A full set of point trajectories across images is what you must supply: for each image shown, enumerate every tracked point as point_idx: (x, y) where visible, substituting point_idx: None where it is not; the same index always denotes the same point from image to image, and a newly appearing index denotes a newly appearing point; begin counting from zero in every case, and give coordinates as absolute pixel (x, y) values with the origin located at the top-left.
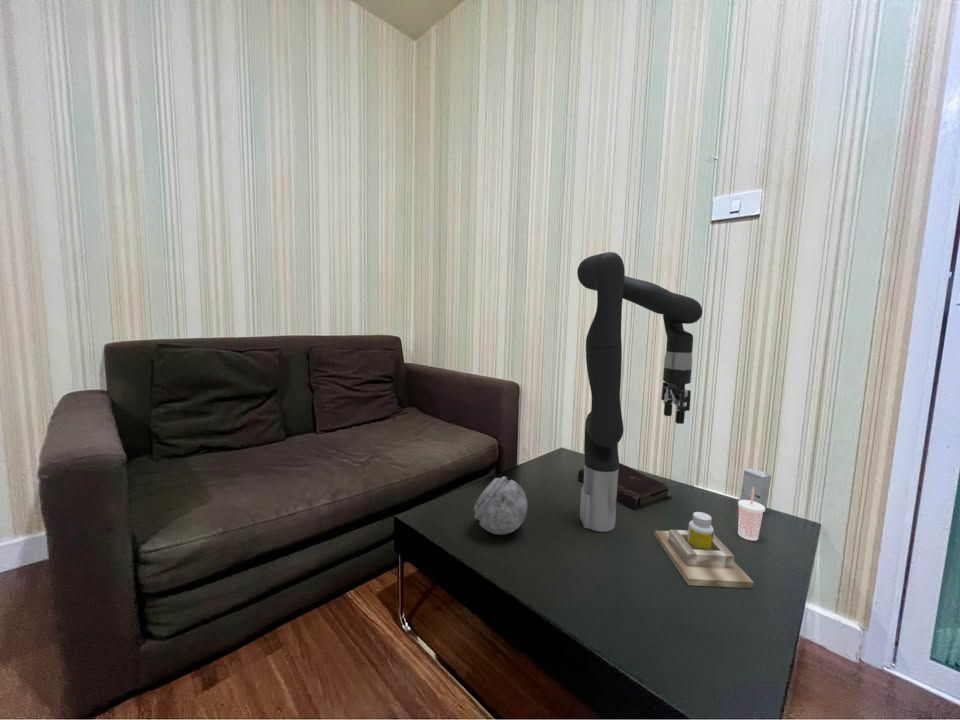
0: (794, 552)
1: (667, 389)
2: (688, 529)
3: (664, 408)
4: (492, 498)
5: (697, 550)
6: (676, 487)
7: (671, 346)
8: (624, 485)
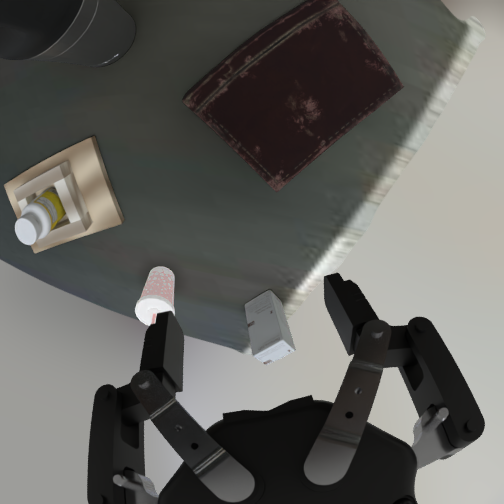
0: None
1: (325, 466)
2: (35, 200)
3: (349, 300)
4: None
5: (26, 204)
6: (329, 203)
7: None
8: (254, 78)
